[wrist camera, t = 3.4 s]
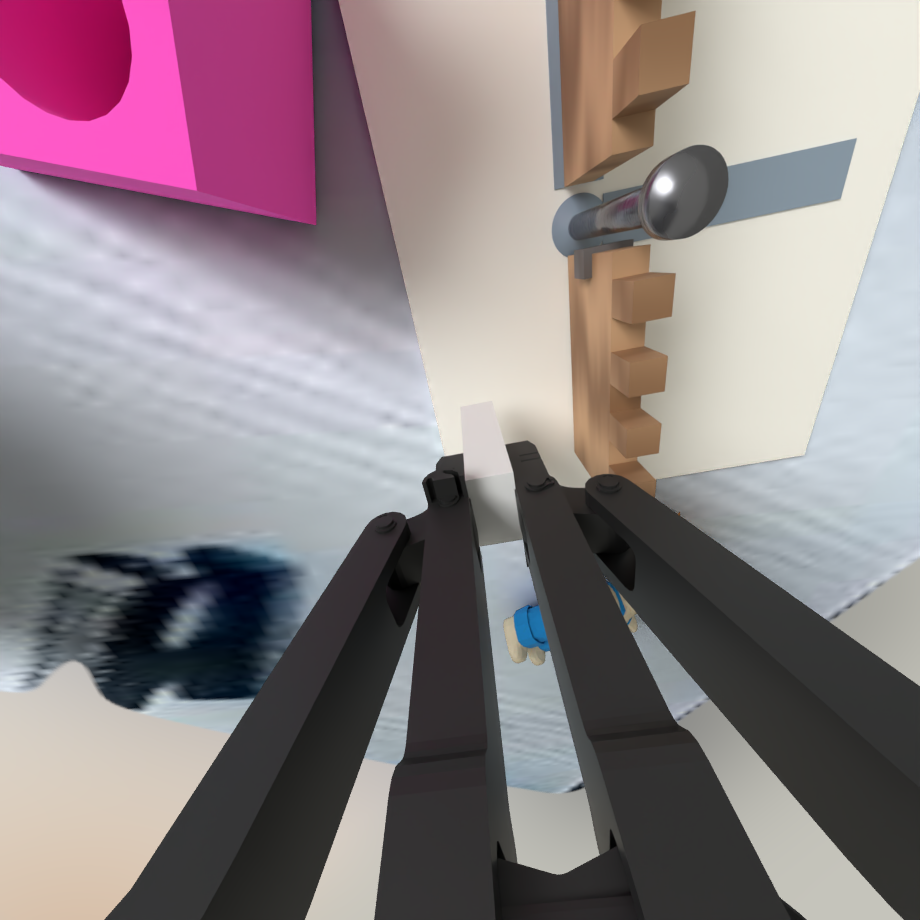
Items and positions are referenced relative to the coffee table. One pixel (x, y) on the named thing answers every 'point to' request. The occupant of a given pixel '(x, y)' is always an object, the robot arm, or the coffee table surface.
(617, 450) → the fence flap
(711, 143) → the card
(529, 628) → the toy
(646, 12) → the fence fixed
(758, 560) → the coffee table surface
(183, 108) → the bracket
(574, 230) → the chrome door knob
